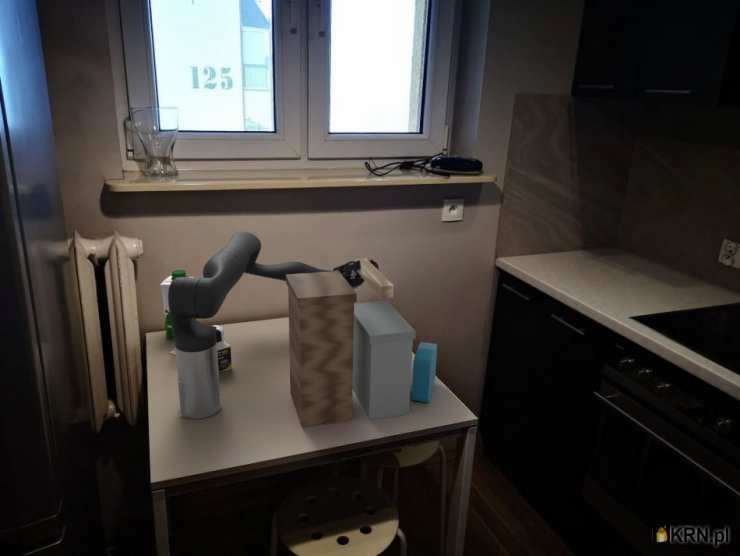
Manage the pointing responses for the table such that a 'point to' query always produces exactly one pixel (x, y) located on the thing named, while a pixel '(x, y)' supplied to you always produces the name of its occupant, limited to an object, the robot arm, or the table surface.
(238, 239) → the robot arm
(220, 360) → the medicine bottle
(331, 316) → the wooden column with lip
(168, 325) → the milk carton
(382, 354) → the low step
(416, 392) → the data package
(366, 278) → the birch rod
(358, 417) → the table surface
